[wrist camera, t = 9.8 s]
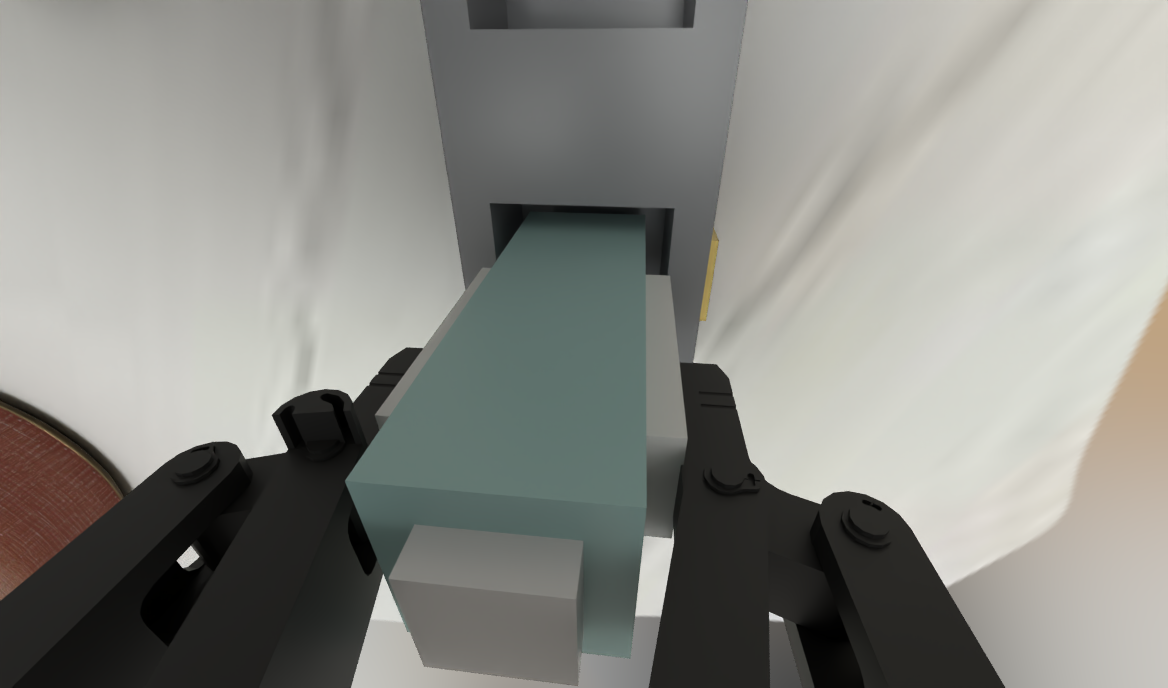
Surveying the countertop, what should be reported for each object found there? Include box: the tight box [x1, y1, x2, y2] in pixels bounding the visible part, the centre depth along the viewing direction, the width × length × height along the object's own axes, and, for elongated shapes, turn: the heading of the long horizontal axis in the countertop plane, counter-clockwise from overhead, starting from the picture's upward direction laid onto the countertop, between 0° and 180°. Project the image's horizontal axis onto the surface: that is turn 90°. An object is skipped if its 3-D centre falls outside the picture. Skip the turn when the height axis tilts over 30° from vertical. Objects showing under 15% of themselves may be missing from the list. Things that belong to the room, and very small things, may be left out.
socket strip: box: [420, 0, 748, 363], centre depth 15 cm, size 22×8×6 cm, turn 0°
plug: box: [345, 211, 647, 686], centre depth 12 cm, size 4×4×13 cm
